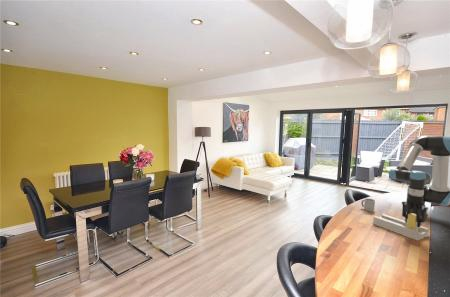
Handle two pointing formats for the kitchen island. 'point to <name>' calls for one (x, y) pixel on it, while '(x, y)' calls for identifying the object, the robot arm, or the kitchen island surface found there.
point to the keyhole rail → (400, 227)
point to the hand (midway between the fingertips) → (411, 229)
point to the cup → (368, 204)
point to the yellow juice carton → (411, 220)
